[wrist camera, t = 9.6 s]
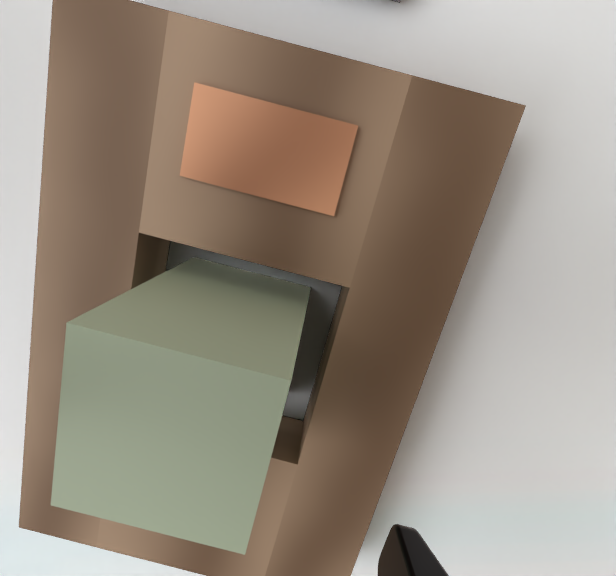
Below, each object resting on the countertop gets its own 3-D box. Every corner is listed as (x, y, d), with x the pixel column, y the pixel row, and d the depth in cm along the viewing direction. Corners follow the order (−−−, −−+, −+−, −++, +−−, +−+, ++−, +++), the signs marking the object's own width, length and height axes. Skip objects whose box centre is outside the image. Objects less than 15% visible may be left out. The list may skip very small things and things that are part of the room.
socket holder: (63, 478, 17) (14, 532, 14) (109, 20, 12) (48, -24, 10) (337, 549, 17) (338, 615, 14) (487, 121, 12) (529, 104, 10)
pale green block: (175, 363, 15) (50, 505, 8) (193, 256, 14) (66, 322, 7) (283, 391, 15) (245, 554, 9) (311, 287, 14) (291, 380, 7)
